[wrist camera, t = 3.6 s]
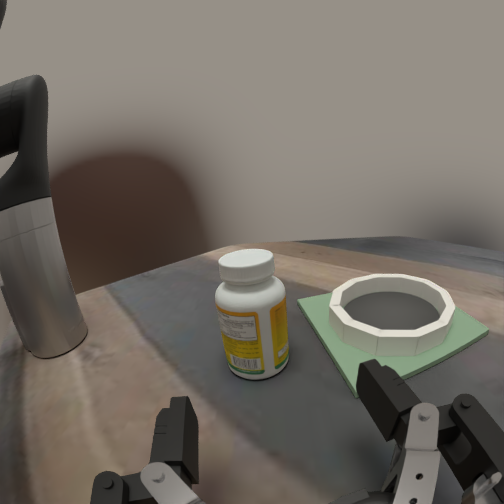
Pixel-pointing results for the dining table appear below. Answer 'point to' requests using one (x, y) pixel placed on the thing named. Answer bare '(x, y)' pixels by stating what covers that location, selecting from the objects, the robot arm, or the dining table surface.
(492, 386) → the dining table surface
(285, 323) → the supplement bottle
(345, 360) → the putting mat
